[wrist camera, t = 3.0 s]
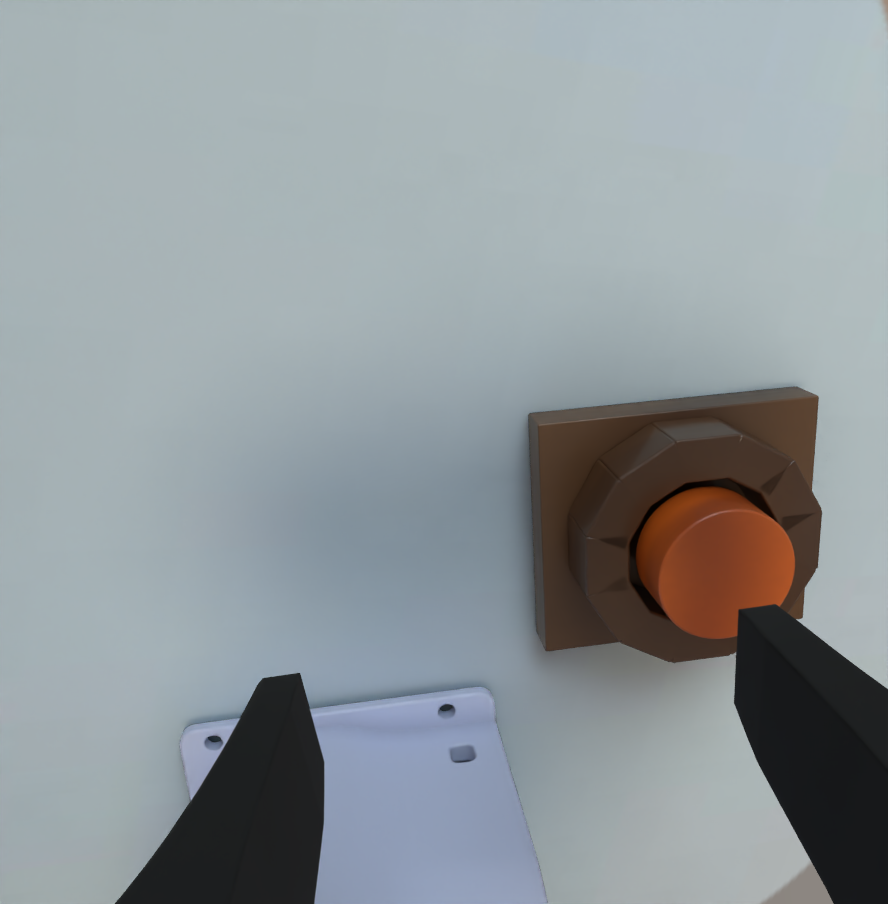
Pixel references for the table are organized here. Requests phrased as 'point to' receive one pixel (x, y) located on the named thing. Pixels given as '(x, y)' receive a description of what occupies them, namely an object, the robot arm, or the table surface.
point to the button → (713, 560)
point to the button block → (647, 487)
